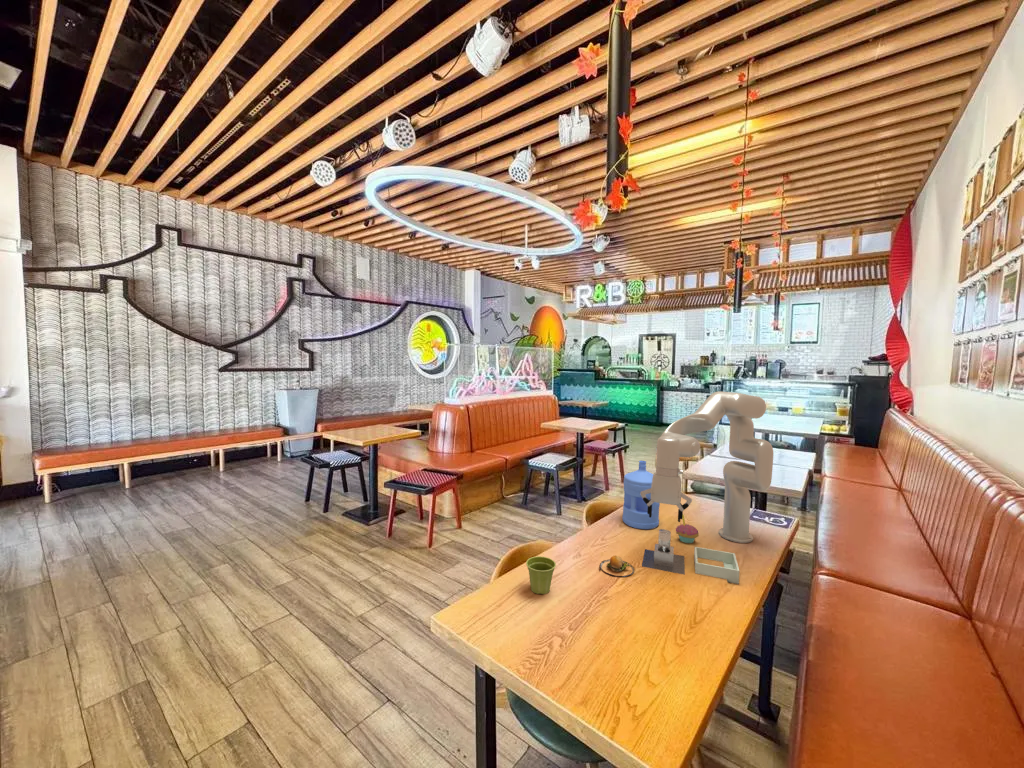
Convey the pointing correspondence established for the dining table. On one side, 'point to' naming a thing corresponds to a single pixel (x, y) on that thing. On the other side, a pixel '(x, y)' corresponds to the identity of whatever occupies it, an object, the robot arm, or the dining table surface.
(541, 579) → the plant pot
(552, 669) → the dining table surface
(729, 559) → the bin
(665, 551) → the grey piece
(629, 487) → the water jug
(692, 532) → the cupcake
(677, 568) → the stud block
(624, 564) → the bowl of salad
